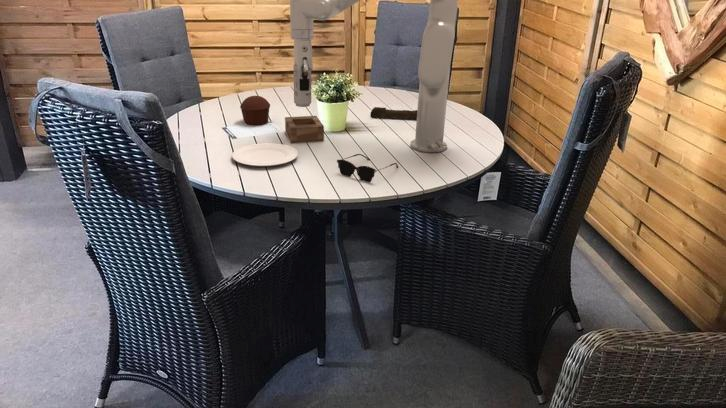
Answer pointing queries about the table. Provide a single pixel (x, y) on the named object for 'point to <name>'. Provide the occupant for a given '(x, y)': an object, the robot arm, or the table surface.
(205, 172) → the table surface
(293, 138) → the holder block
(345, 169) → the sunglasses
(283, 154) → the plate
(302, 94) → the energy drink can
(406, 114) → the hand tool
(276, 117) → the table surface
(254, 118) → the muffin
